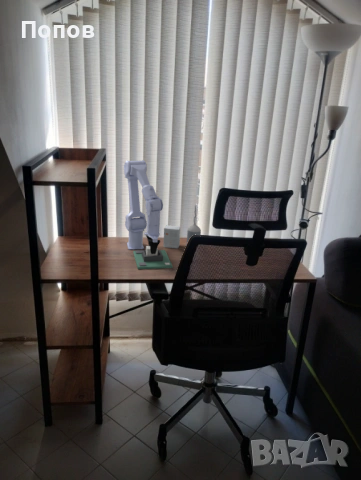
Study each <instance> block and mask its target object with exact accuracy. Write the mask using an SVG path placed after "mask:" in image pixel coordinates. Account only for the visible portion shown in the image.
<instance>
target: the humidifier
mask: <svg viewBox="0 0 361 480" xmlns="http://www.w3.org/2000/svg"><path fill="white" fill-rule="evenodd" d="M199 214H200V213H199V212H198V216H199ZM196 218H197V205H196V204H195V205H194V215H193V224H192V225H190V226H189V227H188V228H187V232H186V233H187V234H186V243H187V242H188V240H189V238H190V237H191V236H192V235H195V234H196V235H201V236H202V231H201V228H200V227H199V224H196V223H197V222H196ZM199 219H200V217H198V220H199ZM186 246H187V245H185V247H186Z"/></svg>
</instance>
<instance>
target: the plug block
mask: <svg viewBox="0 0 361 480" xmlns="http://www.w3.org/2000/svg"><path fill="white" fill-rule="evenodd" d="M145 250H146V256H157V255H158V250H159V248H158V247H157V251H156V254H151V251H150V246H149V245H146V246H145Z"/></svg>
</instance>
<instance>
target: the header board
mask: <svg viewBox="0 0 361 480" xmlns="http://www.w3.org/2000/svg"><path fill="white" fill-rule="evenodd" d="M132 252H133V257H134V260H135V264H136V267H137V268H136V269H137V270H151V269H155V270H156V269H173V268H174V267H173V264H172V261H171V260H170V258H169V255H168V253H167V251H166V250H165V249H158V255H157V256H146V249H138V250H133V251H132Z"/></svg>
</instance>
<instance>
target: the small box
mask: <svg viewBox="0 0 361 480" xmlns="http://www.w3.org/2000/svg"><path fill="white" fill-rule="evenodd" d="M180 243H181V226H179V225H165V226H164V228H163V245H162V246H163V248H171V249H179V247H180Z"/></svg>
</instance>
